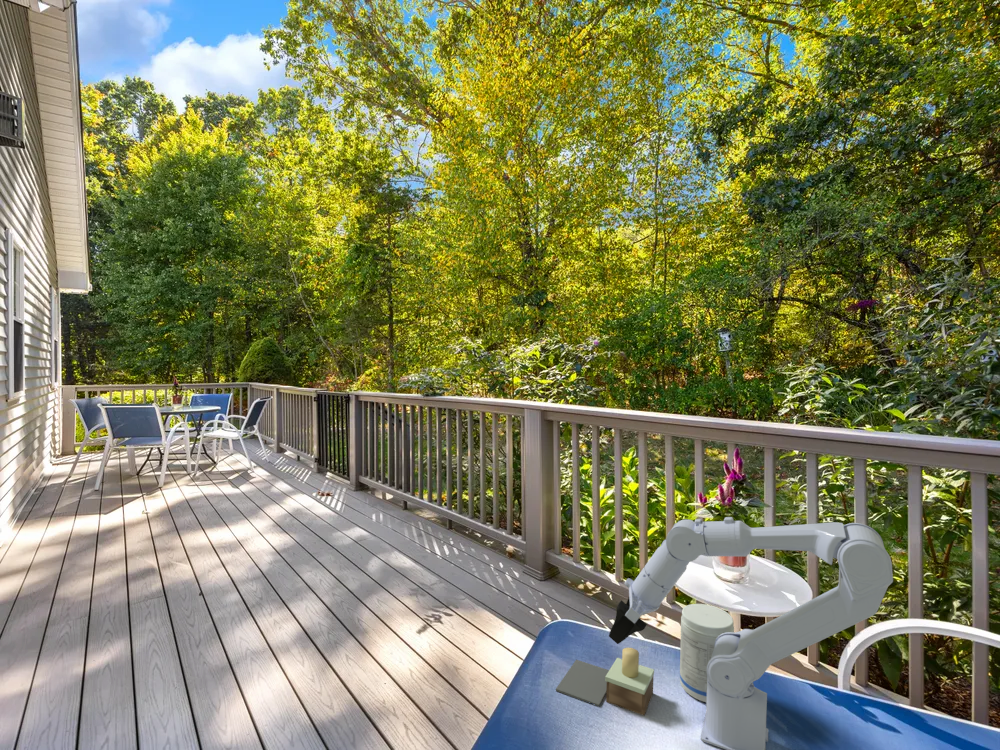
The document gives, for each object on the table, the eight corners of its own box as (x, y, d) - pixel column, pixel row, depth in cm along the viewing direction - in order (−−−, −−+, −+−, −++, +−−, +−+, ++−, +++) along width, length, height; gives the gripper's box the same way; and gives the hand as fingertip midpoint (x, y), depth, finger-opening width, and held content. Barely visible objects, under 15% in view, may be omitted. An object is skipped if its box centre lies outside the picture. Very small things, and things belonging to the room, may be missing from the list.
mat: (616, 674, 100) (616, 672, 100) (598, 706, 91) (598, 704, 91) (576, 661, 105) (576, 659, 105) (555, 690, 95) (555, 688, 95)
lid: (653, 677, 95) (654, 648, 95) (644, 699, 89) (645, 668, 89) (616, 665, 99) (617, 637, 99) (605, 685, 92) (605, 655, 92)
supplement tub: (695, 668, 103) (697, 598, 103) (741, 692, 96) (744, 616, 95) (669, 686, 97) (671, 612, 97) (716, 713, 90) (719, 633, 89)
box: (653, 694, 95) (653, 674, 95) (644, 717, 89) (644, 695, 89) (616, 682, 98) (617, 662, 98) (606, 703, 92) (606, 682, 92)
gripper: (648, 548, 98) (613, 598, 102) (629, 576, 86) (589, 632, 89) (680, 573, 95) (642, 623, 99) (665, 606, 83) (622, 662, 87)
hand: (619, 629), depth 94 cm, fingers open, 7 cm apart
